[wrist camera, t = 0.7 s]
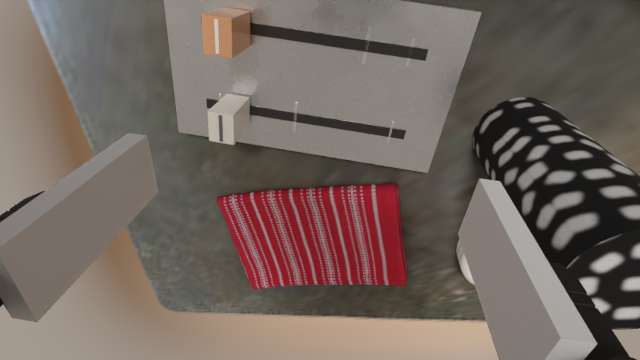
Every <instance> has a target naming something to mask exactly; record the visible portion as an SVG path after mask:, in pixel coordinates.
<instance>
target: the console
mask: <svg viewBox="0 0 640 360" xmlns="http://www.w3.org/2000/svg"><path fill="white" fill-rule="evenodd" d="M164 6H165V15H166V24H167V32H168V41H169V50H170V59H171V68H172V76H173V85H174V94H175V103H176V111H177V120H178V129H179V132H181V133H187V134H193V135H199V136H205V137H209V128H208V112H207V111H208V110H209V109H210V108H211V107H213V106H214V105H215V104H216V103H217V102H218V101H219V100H220V99H221V98H223V97H224V96H225V95H226V94H233V95H239V96H245V97H250V124H249V126H248V127H247V128H246V130H245V131H244V132H243V134H242V135H241V136H240V138H239V139H238V140H237V142H242V143H248V144H254V145H260V146H266V147H272V148H278V149H284V150H290V151H296V152H303V153H309V154H315V155H321V156H327V157H333V158H339V159H345V160H351V161H357V162H364V163H370V164H376V165H382V166H388V167H394V168H400V169H406V170H412V171H418V172H424V173H428V170H429V167H430V164H431V161H432V158H433V156H434V153H435V150H436V147H437V144H438V141H439V138H440V135H441V132H442V129H443V126H444V123H445V120H446V117H447V114H448V111H449V108H450V105H451V102H452V99H453V96H454V93H455V90H456V87H457V84H458V81H459V78H460V75H461V72H462V69H463V67H464V64H465V61H466V58H467V55H468V52H469V49H470V46H471V43H472V40H473V37H474V34H475V31H476V28H477V25H478V22H479V19H480V16H481V13H482V12H480V11H478V10H475V9H468V8H461V7H454V6H447V5H440V4H433V3H426V2H419V1H413V0H164ZM224 7H225V8H232V9H239V10H245V11H250V47H248V48H247V49H245V50H244V51H242V52H241V53H239V54H238V55H236V56H235V57H234V58H227V57H220V56H214V55H207V54H204V48H203V32H202V16H201V14H204V13H207V12H210V11H214V10H217V9H220V8H224Z"/></svg>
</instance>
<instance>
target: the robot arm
mask: <svg viewBox="0 0 640 360" xmlns="http://www.w3.org/2000/svg"><path fill="white" fill-rule="evenodd" d="M157 193H158V187H157V182H156V178H155V173H154V168H153V163H152V158H151V154H150V149H149V144H148V139H147V135H140V134H132V133H128V134H126V135H125V136H124V137H122V138H121V139H119V140H118V141H116V142H115V143H113V144H112V145H111V146H109V147H108V148H106V149H105V150H103V151H102V152H101V153H99V154H98V155H96V156H95V157H93V158H92V159H91V160H89V161H88V162H86V163H85V164H83V165H82V166H81V167H79V168H78V169H76V170H75V171H73V172H72V173H71V174H69V175H68V176H66V177H65V178H63V179H62V180H60V181H59V182H58V183H56V184H55V185H53V186H52V187H50V188H49V189H48V190H46V191H42V192H40V193H38V194H36V195H33V196H31V197H28V198H26V199H24V200H23V201H21V202H20V203H18V204H17V205H15V206H14V207H12V208H11V209H10V211H6V212H5V213H3V214H2V215H0V306H2V305H4V306H5V308H6V309H7V311H8V312H9V314H10V315H11V317H12V318H17V319H22V320H28V321H34V322H38V320H40V318H41V317H42V316H43V315H44V314H45V313H46V312H47V311H48V310H49V309H50V308H51V307H52V306H53V305H54V303H55V302H56V301H57V300H58V299H59V298H60V297H61V296H62V295H63V294H64V293H65V292H66V290H67V289H68V288H69V287H70V286H71V285H72V284H73V283H74V282H75V281H76V280H77V279H78V278H79V277H80V275H81V274H82V273H83V272H84V271H85V270H86V269H87V268H88V267H89V266H90V265H91V263H93V262H94V261H95V259H96V258H97V257H98V256H99V255H100V254H101V253H102V252H103V251H104V250H105V249H106V248H107V246H108V245H109V244H110V243H111V242H112V241H113V240H114V239H115V238H116V237H117V236H118V235H119V234H120V233H121V232H122V230H123V229H124V228H125V227H126V226H127V225H128V224H129V223H130V222H131V221H132V220H133V219H134V218H135V217H136V215H137V214H138V213H139V212H140V211H141V210H142V209H143V208H144V207H145V206H146V205H147V204H148V203H149V201H150V200H151V199H152V198H153V197H154V196H155V195H156V194H157ZM458 235H459V238H460V241H461V245H462V248H463V251H464V254H465V257H466V260H467V263H468V266H469V269H470V272H471V275H472V278H473V281H474V284H475V287H476V290H477V294H478V297H479V300H480V303H481V306H482V309H483V312H484V315H485V318H486V321H487V324H488V327H489V330H490V333H491V336H492V339H493V342H494V346H495V349H496V351H497V354H498V358H499V360H636V359H634V358H631V357H629V355H628V354H627V352H626V351H625V349H624V348H623V346H622V345H621V343H620V342H619V340H618V339H617V337H616V336H615V334H614V332H613V331H612V329H611V328H610V326H609V325H608V323H607V322H606V320H605V319H604V317H603V316H602V314H601V313H600V311H599V310H598V308H595V304H594V302H593V301H592V299H591V298H590V296H588V295H587V292H586V290H585V289H584V287H583V286H582V284H581V283H580V281H579V280H578V278H577V277H576V276H575V275H574V274H573V273H571V272H570V271H569V270H568V269H567V268H566V267H565V266H564V265H563V264H560V263H553V262H548V260H547V259H546V257H545V255H544V254H543V252H542V250H541V249H540V247H539V245H538V244H537V242H536V240H535V239H534V237H533V235H532V234H531V232H530V230H529V229H528V227H527V225H526V224H525V222H524V220H523V219H522V217H521V215H520V214H519V212H518V210H517V209H516V207H515V205H514V204H513V202H512V200H511V199H510V197H509V195H508V194H507V192H506V190H505V189H504V187H503V185H502V184H501V182H500V181H495V180H487V179H480V178H479V180H478V183H477V186H476V188H475V191H474V193H473V196H472V199H471V201H470V204H469V206H468V209H467V212H466V214H465V217H464V219H463V222H462V224H461V227H460V230H459V232H458Z"/></svg>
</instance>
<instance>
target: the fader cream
mask: <svg viewBox="0 0 640 360" xmlns="http://www.w3.org/2000/svg"><path fill="white" fill-rule="evenodd" d="M207 112H208V128H209V141H213V142H219V143H225V144H231V145H234V144H235V143H236V142H237V140H238V139H239V138H240V136H241V135H242V134H243V132H244V131H245V130H246V128H247V127H248V126H249V124H250V97H245V96H239V95H233V94H226V95H225V96H224V97H223V98H221V99H220V100H219V101H218V102H217V103H216V104H215V105H214V106H213V107H211V108H210V109H209V110H208V111H207Z"/></svg>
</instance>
